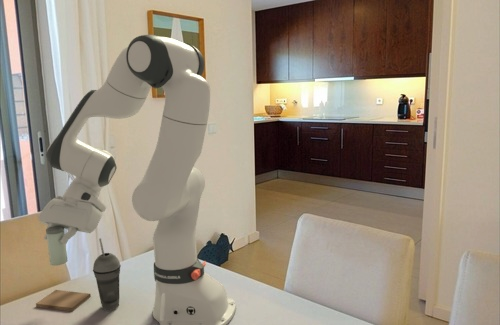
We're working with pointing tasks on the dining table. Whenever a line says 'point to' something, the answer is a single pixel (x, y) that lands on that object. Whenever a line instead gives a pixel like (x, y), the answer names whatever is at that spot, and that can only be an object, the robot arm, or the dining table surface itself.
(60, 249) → the sage tube
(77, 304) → the walnut board
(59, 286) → the dining table surface
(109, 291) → the beverage cup
